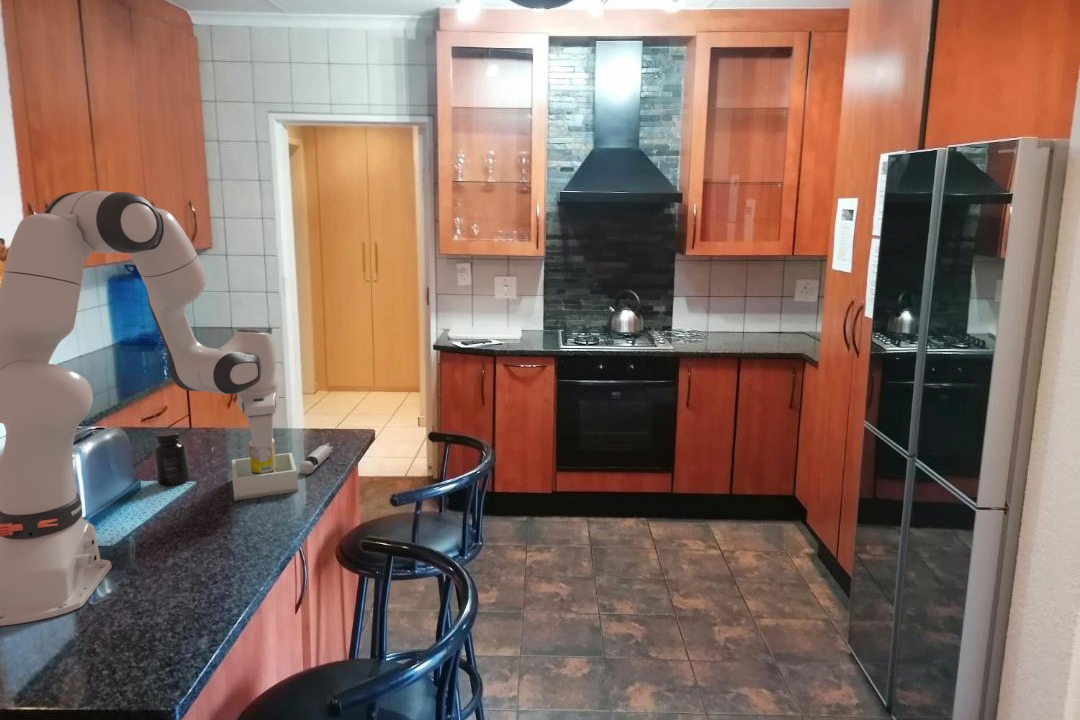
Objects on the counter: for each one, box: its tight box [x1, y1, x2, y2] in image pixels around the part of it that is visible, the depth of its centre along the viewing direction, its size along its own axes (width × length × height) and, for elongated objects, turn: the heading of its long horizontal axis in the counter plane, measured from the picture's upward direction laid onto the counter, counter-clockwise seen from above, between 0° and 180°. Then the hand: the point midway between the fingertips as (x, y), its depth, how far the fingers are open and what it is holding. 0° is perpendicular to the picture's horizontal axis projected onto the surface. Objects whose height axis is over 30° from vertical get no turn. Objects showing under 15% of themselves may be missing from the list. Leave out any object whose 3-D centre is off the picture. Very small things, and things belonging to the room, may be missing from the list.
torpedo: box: [298, 434, 334, 476], centre depth 186 cm, size 18×5×6 cm, turn 177°
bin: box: [231, 452, 299, 501], centre depth 171 cm, size 14×14×5 cm
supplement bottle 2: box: [248, 437, 277, 475], centre depth 170 cm, size 6×6×10 cm
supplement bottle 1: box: [153, 430, 190, 487], centre depth 173 cm, size 7×7×12 cm
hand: (262, 456), depth 171 cm, fingers closed on supplement bottle 2, 6 cm apart
